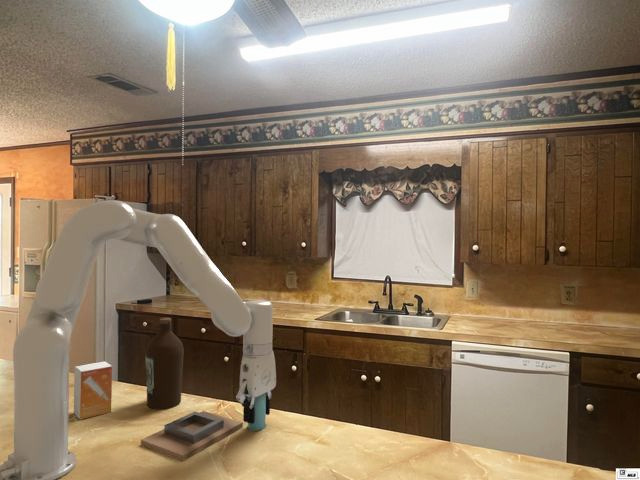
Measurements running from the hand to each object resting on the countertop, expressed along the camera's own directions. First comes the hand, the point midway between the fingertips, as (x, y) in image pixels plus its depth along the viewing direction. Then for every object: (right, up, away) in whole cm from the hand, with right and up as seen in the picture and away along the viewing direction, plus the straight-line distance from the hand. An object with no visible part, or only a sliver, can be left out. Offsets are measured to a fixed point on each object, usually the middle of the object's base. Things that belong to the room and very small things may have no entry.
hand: (256, 417), depth 112 cm
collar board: (-15, -2, -5) cm, 16 cm away
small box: (-47, -2, +7) cm, 47 cm away
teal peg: (0, -3, 0) cm, 3 cm away
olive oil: (-30, -2, +15) cm, 33 cm away
